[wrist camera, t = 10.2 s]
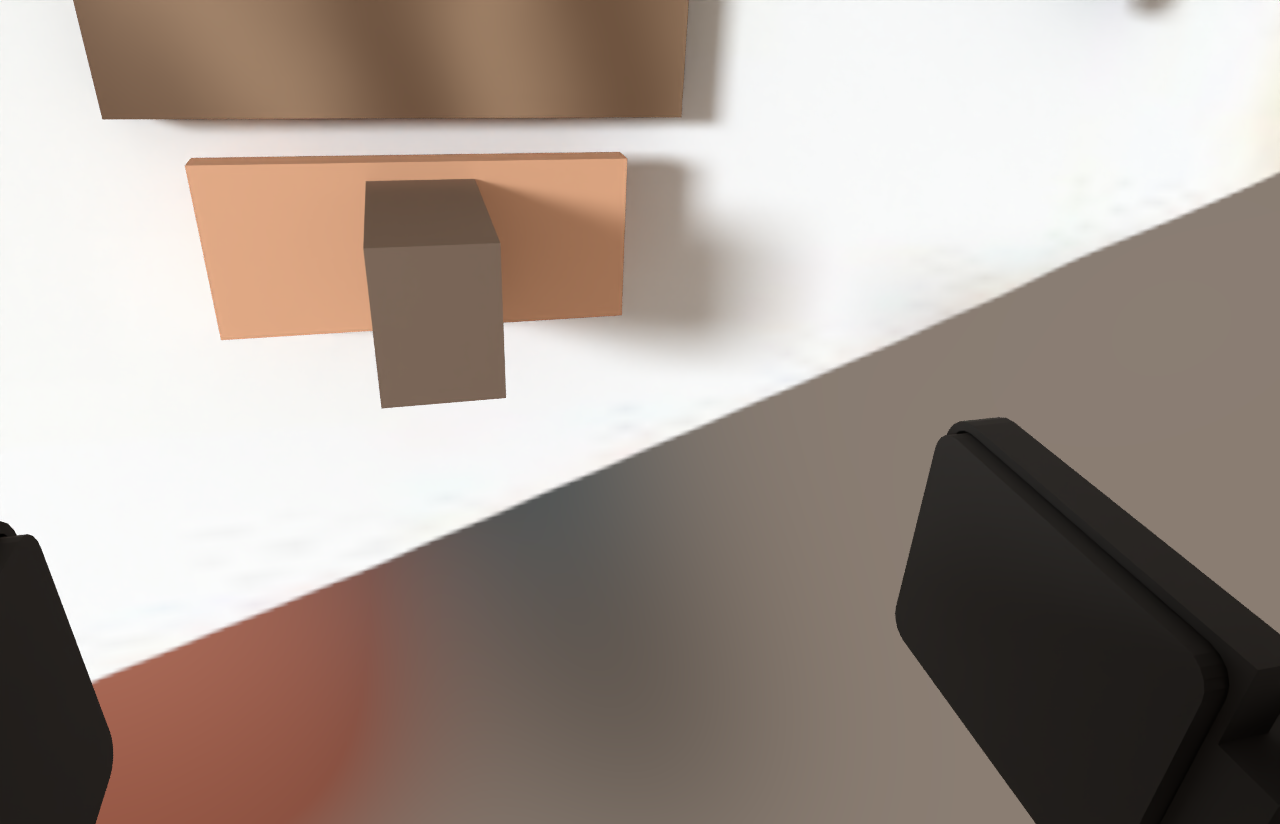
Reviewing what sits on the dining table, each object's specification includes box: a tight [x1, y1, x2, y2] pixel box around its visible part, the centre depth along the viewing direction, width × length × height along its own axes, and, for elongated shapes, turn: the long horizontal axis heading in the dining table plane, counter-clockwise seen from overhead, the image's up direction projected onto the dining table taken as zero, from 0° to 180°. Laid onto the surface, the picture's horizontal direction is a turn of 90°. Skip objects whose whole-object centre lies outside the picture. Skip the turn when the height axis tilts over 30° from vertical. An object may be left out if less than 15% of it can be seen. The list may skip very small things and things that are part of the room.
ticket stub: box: [185, 152, 627, 408], centre depth 23 cm, size 12×5×7 cm, turn 88°
